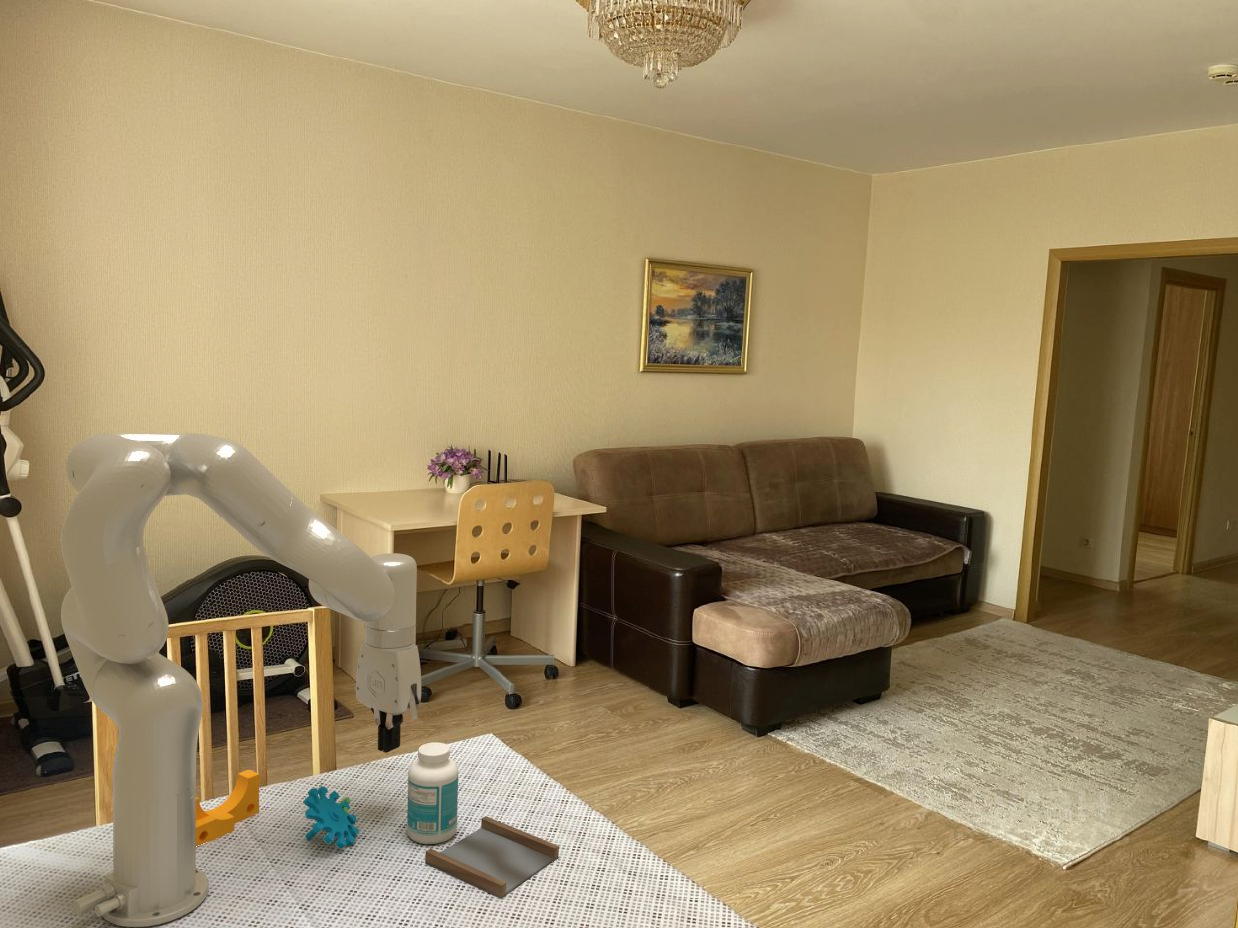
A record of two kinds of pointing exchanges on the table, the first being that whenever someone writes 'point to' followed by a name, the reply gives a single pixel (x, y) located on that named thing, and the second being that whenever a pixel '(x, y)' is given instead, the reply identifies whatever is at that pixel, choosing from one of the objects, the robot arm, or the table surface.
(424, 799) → the pill bottle
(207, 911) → the table surface
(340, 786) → the table surface
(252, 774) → the pipe clamp
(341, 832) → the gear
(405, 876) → the table surface
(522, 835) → the cradle
